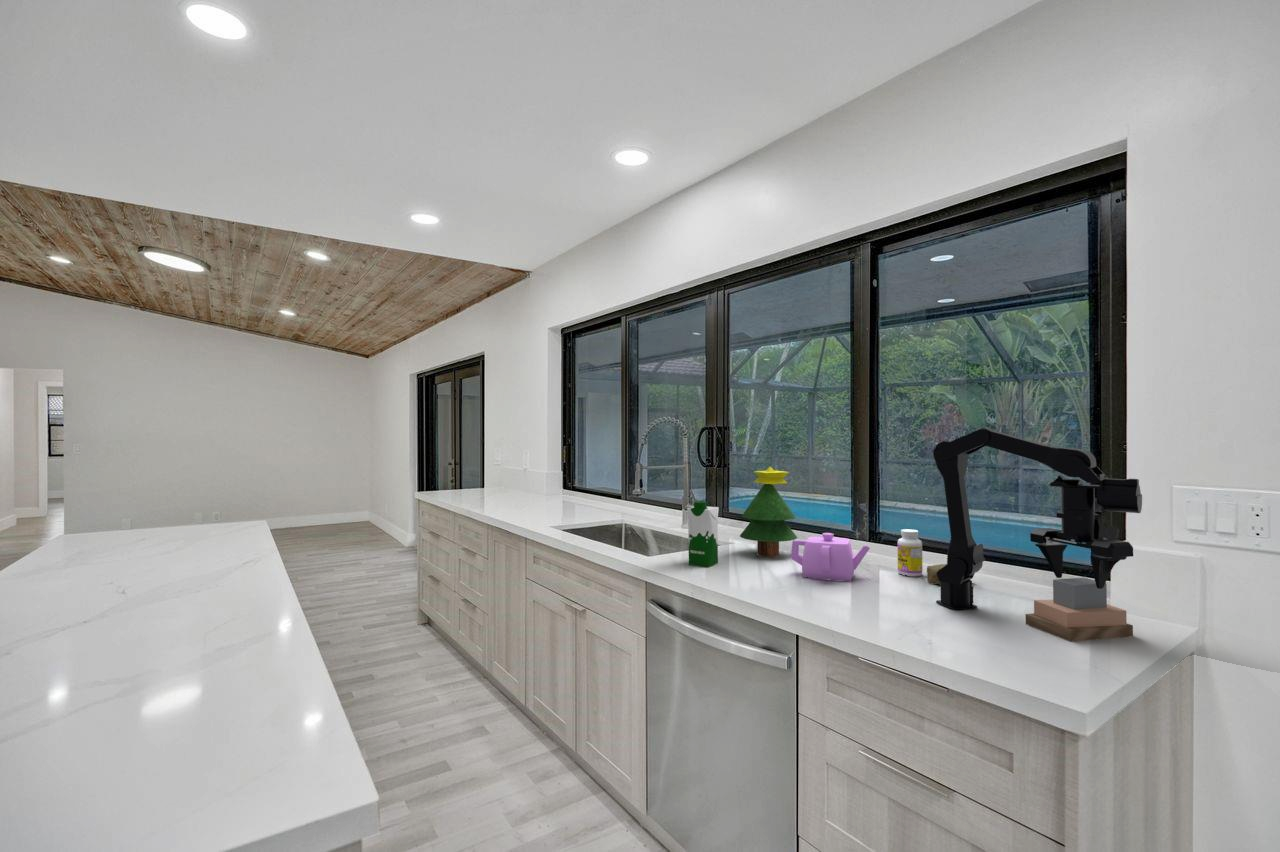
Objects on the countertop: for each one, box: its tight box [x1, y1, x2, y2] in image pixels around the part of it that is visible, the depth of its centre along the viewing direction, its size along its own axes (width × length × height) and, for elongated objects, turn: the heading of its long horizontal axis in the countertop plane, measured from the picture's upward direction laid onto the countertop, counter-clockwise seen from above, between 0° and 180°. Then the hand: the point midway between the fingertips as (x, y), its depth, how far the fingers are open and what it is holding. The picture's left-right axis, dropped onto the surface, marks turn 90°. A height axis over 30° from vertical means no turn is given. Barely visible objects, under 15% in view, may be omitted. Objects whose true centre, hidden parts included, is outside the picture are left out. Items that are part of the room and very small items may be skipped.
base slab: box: [1025, 612, 1134, 643], centre depth 126 cm, size 15×11×3 cm
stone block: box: [926, 563, 972, 586], centre depth 166 cm, size 6×12×5 cm, turn 111°
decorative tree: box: [739, 466, 798, 558], centre depth 204 cm, size 19×19×30 cm
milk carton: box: [686, 500, 720, 568], centre depth 191 cm, size 9×9×20 cm
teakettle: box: [790, 532, 871, 582], centre depth 175 cm, size 17×17×12 cm
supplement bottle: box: [897, 528, 923, 577], centre depth 175 cm, size 7×7×13 cm
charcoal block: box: [1052, 577, 1108, 610], centre depth 126 cm, size 8×5×5 cm, turn 101°
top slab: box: [1033, 599, 1128, 628], centre depth 126 cm, size 13×9×3 cm
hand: (1078, 583), depth 126 cm, fingers open, 9 cm apart
